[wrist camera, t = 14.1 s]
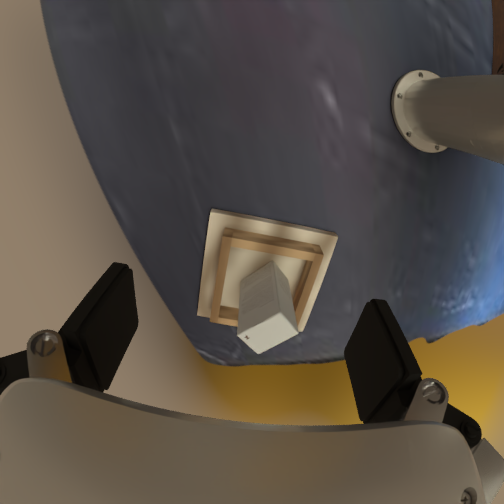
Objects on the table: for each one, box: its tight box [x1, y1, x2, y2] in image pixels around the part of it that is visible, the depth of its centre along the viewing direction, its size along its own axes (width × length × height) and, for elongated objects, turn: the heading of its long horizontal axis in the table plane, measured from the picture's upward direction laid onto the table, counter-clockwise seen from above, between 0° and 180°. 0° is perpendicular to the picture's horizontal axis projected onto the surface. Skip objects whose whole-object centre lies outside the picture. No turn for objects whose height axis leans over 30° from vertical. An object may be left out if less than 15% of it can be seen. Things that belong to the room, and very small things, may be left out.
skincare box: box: [237, 261, 299, 354], centre depth 36 cm, size 6×4×12 cm
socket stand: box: [197, 209, 338, 332], centre depth 41 cm, size 18×18×4 cm
